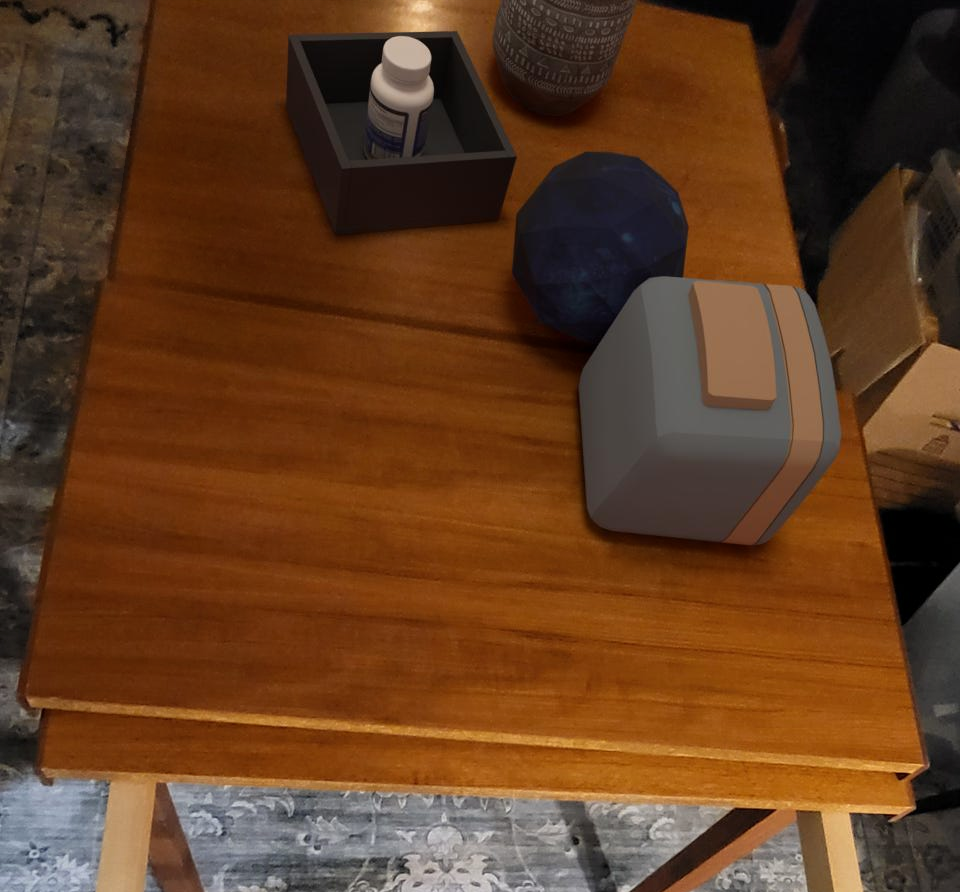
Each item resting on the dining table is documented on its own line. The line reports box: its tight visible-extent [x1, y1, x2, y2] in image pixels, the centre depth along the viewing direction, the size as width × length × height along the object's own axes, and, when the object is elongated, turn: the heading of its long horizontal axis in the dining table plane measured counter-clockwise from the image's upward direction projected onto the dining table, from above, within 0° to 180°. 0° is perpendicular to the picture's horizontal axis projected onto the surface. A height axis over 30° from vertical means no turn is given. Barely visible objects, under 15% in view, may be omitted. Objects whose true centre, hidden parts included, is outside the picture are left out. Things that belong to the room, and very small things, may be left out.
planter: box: [491, 0, 638, 117], centre depth 90 cm, size 12×12×13 cm
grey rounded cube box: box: [578, 276, 842, 546], centre depth 73 cm, size 16×16×16 cm
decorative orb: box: [511, 150, 690, 345], centre depth 79 cm, size 14×15×15 cm
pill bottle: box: [364, 36, 434, 160], centre depth 82 cm, size 5×5×10 cm
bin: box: [285, 30, 518, 236], centre depth 84 cm, size 16×16×7 cm
